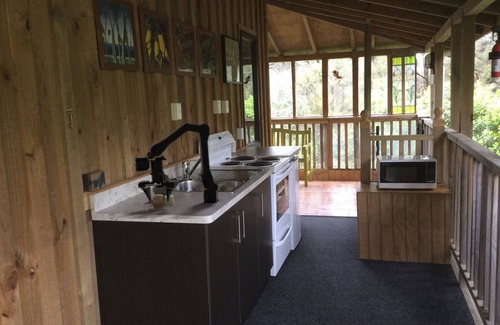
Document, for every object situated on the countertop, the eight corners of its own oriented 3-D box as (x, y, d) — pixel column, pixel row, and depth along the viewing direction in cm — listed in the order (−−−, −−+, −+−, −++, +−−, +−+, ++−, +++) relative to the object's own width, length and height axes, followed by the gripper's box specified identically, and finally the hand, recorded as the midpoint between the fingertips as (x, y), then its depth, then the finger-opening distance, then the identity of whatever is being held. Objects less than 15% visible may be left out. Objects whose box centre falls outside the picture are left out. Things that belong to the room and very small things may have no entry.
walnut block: (162, 207, 217) (161, 197, 216) (153, 207, 218) (152, 197, 217) (165, 205, 221) (165, 195, 221) (157, 205, 222) (156, 195, 222)
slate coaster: (170, 206, 223) (170, 204, 223) (164, 209, 215) (164, 208, 215) (155, 206, 224) (155, 204, 224) (148, 209, 217) (148, 208, 217)
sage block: (174, 202, 231) (173, 195, 230) (173, 204, 226) (172, 197, 225) (164, 203, 230) (163, 195, 230) (163, 205, 226) (162, 197, 225)
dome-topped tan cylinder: (162, 202, 231) (162, 194, 230) (163, 204, 227) (162, 196, 226) (155, 202, 230) (154, 194, 229) (155, 204, 226) (154, 196, 226)
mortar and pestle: (149, 200, 239) (148, 178, 237) (161, 196, 247) (160, 175, 245) (166, 201, 233) (164, 179, 231) (177, 198, 241) (176, 176, 239)
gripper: (181, 167, 223) (183, 198, 225) (146, 167, 227) (148, 198, 229) (172, 170, 212) (175, 203, 214) (136, 171, 216) (138, 202, 218)
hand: (159, 201), depth 219 cm, fingers open, 9 cm apart
